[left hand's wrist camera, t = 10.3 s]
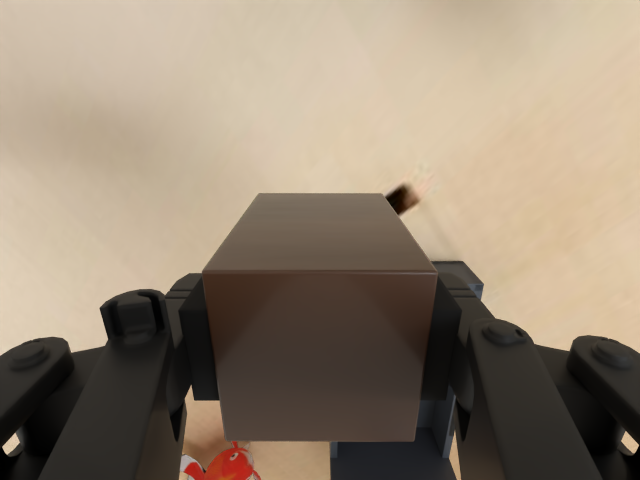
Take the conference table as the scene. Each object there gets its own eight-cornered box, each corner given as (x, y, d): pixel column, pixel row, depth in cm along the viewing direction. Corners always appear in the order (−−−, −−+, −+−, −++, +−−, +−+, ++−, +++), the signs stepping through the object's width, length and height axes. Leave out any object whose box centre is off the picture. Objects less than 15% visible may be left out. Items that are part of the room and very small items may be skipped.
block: (258, 192, 14) (200, 271, 7) (382, 193, 14) (439, 271, 7) (265, 300, 15) (224, 442, 9) (375, 301, 15) (415, 442, 9)
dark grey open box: (331, 261, 35) (335, 317, 26) (463, 261, 35) (515, 317, 26) (329, 427, 44) (331, 514, 34) (434, 427, 44) (465, 514, 34)
